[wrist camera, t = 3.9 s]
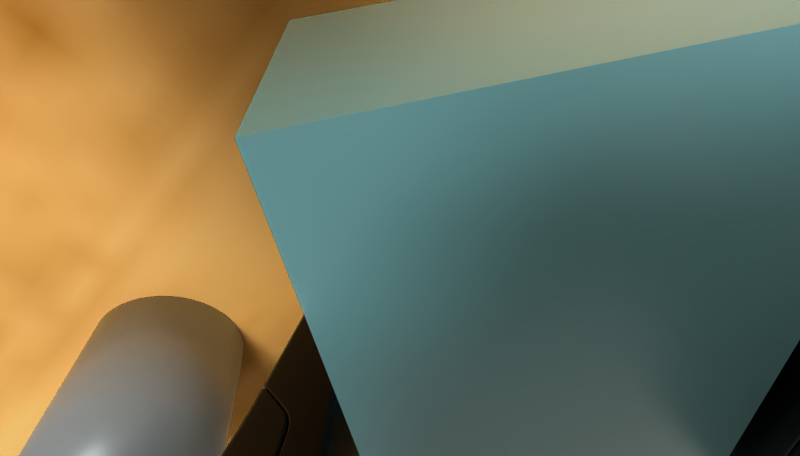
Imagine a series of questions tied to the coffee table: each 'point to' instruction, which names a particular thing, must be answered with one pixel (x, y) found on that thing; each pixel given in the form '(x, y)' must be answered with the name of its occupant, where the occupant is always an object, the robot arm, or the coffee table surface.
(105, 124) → the coffee table surface
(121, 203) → the coffee table surface
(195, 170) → the coffee table surface
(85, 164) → the coffee table surface
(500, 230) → the teal long brick
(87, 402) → the grey cylinder
